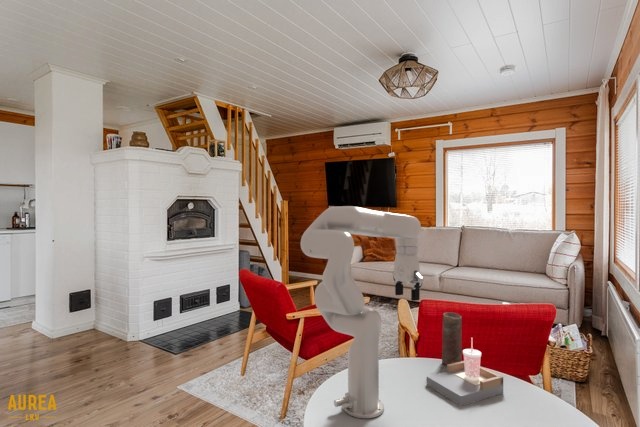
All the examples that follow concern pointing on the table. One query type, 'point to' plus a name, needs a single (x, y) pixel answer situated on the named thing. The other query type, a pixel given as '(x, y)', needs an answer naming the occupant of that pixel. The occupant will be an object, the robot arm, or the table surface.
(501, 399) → the table surface
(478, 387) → the dock
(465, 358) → the beverage cup
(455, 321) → the brown rough cylinder
